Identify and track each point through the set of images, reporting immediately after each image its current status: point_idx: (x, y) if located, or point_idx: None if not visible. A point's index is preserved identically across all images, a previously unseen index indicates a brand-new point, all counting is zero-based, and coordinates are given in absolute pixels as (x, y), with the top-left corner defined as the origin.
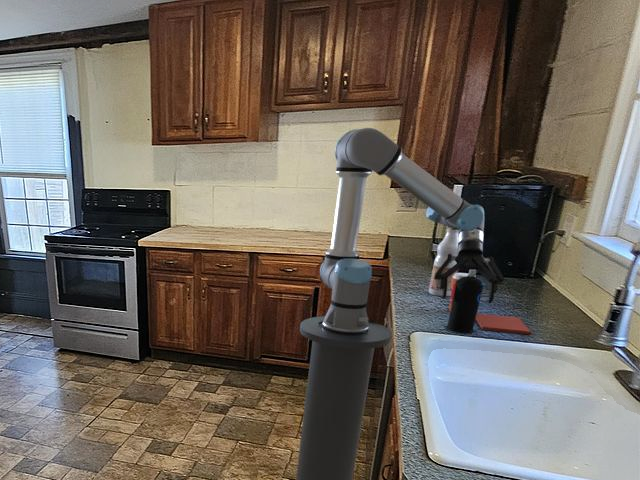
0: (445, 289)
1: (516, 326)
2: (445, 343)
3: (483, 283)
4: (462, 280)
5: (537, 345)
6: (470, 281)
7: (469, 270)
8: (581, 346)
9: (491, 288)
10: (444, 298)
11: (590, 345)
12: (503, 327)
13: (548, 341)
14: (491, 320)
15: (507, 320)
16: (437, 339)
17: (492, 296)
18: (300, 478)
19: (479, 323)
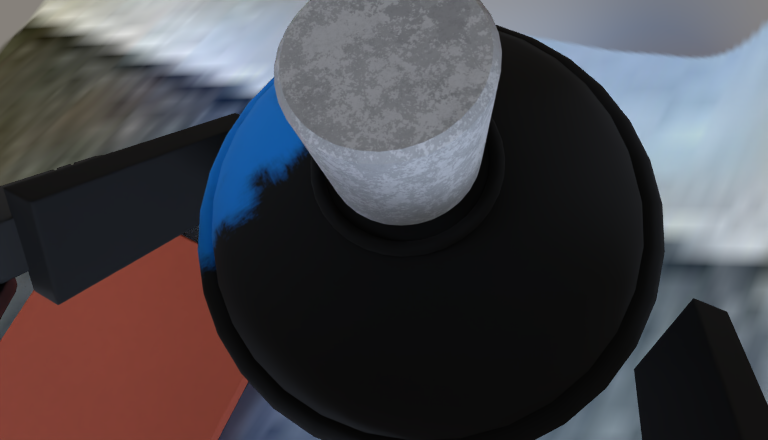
0: (730, 358)
1: (91, 287)
2: (656, 59)
3: (229, 141)
4: (616, 151)
5: (216, 51)
6: (513, 42)
7: (496, 89)
8: (51, 48)
9: (156, 154)
10: (639, 365)
11: (4, 61)
12: (179, 269)
13: (121, 103)
14: (129, 429)
15: (31, 420)
16: (673, 119)
17: (230, 121)
18: None
19: (239, 391)
